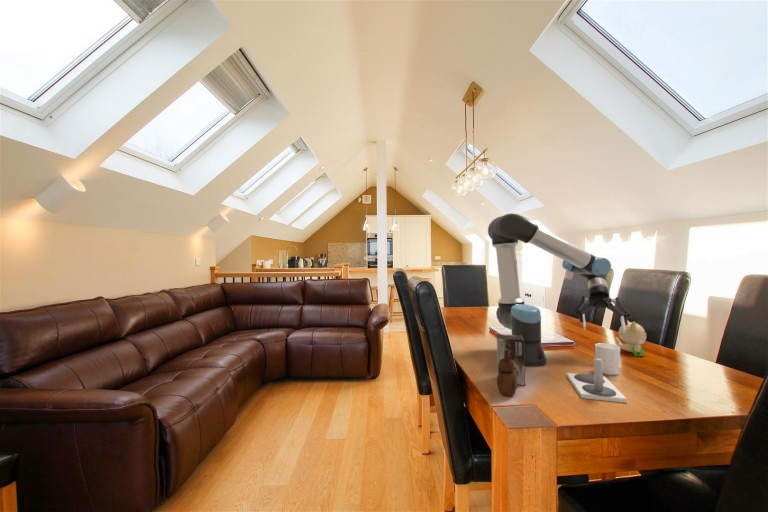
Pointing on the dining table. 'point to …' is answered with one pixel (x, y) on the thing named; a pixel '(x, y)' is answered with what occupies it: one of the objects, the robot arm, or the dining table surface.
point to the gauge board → (590, 396)
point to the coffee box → (512, 354)
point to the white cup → (608, 357)
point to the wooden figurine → (506, 377)
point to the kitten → (632, 338)
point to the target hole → (586, 378)
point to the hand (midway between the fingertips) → (604, 329)
